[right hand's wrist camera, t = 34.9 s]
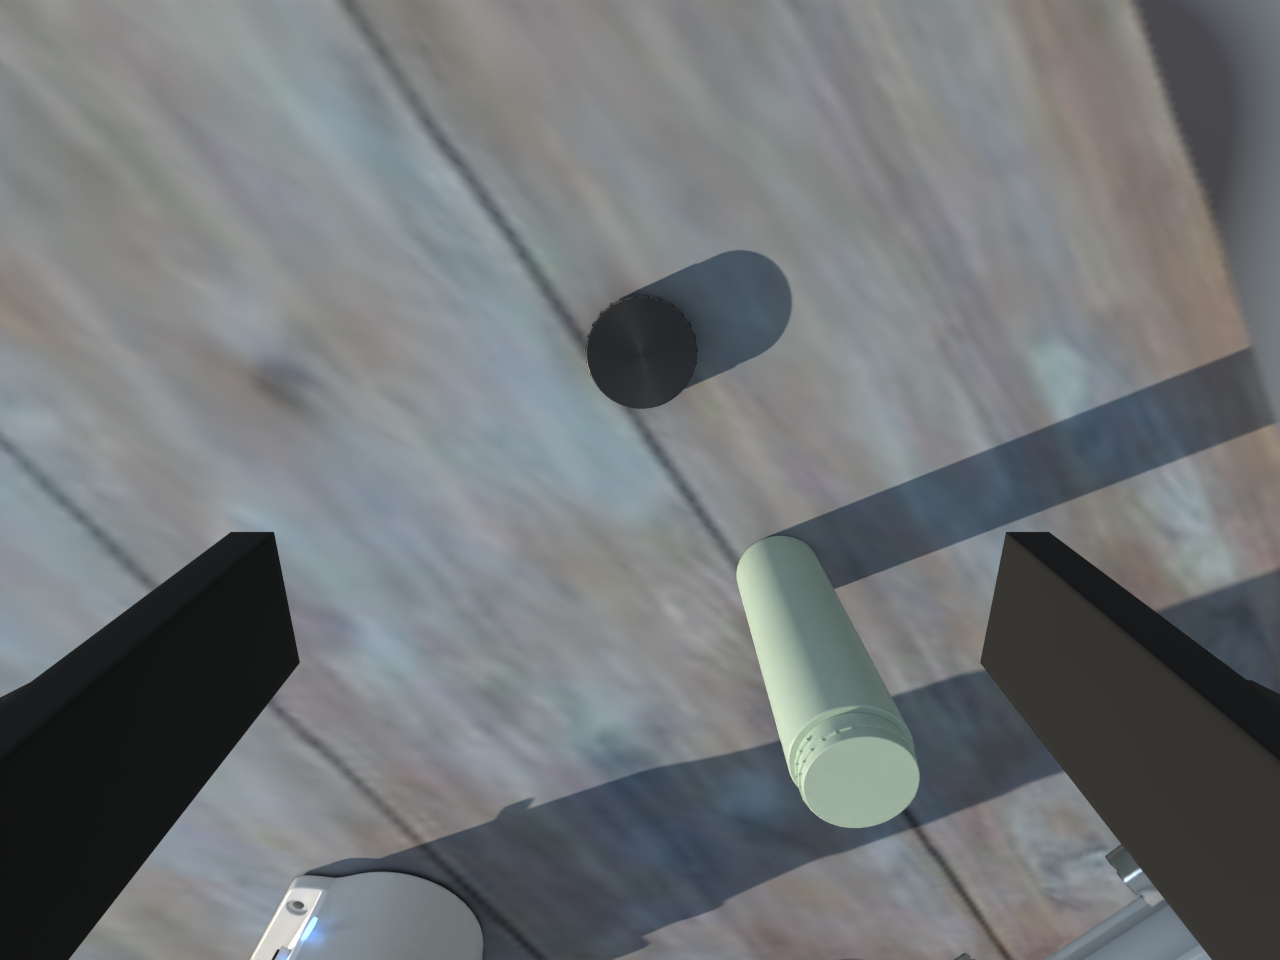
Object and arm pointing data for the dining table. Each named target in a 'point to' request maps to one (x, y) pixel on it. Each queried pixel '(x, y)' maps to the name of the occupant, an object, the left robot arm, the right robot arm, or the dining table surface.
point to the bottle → (825, 690)
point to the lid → (641, 351)
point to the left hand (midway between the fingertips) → (1038, 919)
